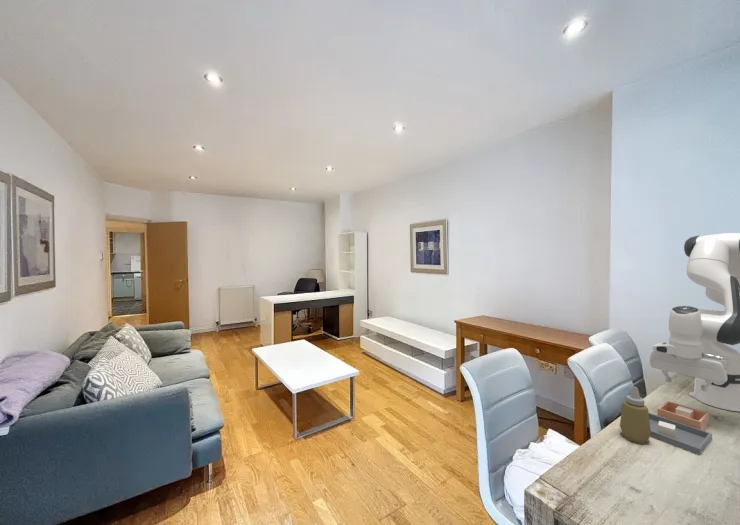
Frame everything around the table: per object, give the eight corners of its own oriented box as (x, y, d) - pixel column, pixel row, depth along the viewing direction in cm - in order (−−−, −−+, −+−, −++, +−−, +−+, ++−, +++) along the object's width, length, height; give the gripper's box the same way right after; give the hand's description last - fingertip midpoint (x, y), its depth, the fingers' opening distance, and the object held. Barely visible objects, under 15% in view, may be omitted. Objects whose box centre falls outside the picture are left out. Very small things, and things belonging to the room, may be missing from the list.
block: (659, 431, 106) (659, 420, 106) (675, 436, 103) (675, 425, 103) (658, 436, 103) (658, 424, 103) (674, 441, 100) (674, 429, 100)
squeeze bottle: (657, 448, 98) (657, 393, 98) (628, 445, 100) (629, 391, 99) (640, 434, 106) (641, 383, 106) (614, 431, 107) (614, 381, 107)
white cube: (678, 415, 117) (678, 405, 116) (693, 420, 113) (693, 410, 113) (675, 418, 114) (675, 408, 114) (690, 423, 111) (690, 413, 111)
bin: (667, 412, 120) (667, 400, 120) (708, 425, 111) (709, 413, 111) (657, 420, 115) (657, 408, 114) (700, 435, 105) (700, 422, 105)
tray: (645, 418, 116) (645, 411, 116) (712, 441, 102) (712, 433, 101) (629, 430, 108) (629, 423, 108) (699, 457, 94) (699, 448, 94)
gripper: (730, 355, 106) (730, 393, 107) (653, 342, 124) (653, 375, 124) (725, 359, 103) (726, 399, 104) (647, 345, 120) (648, 379, 121)
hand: (686, 386), depth 114 cm, fingers open, 8 cm apart
